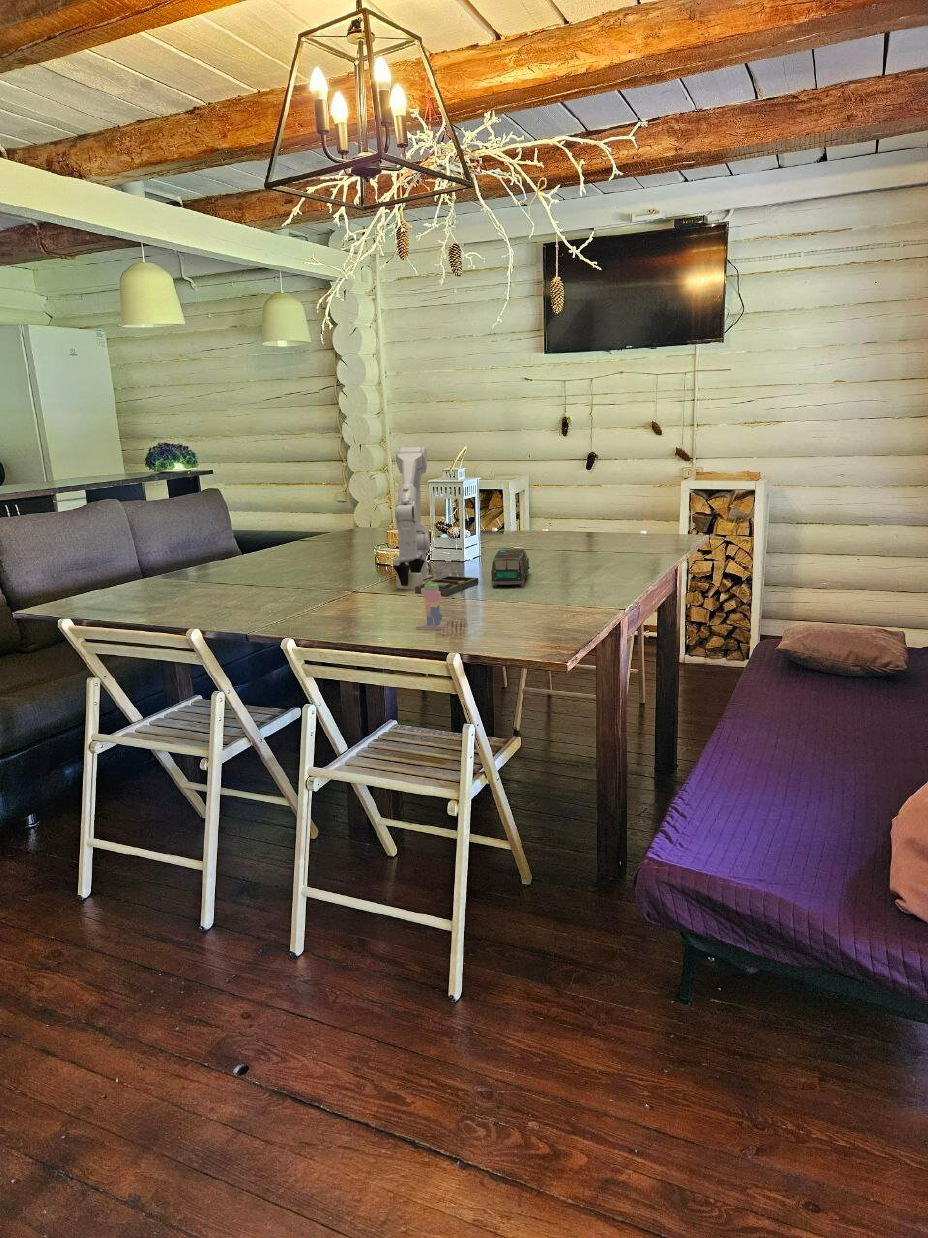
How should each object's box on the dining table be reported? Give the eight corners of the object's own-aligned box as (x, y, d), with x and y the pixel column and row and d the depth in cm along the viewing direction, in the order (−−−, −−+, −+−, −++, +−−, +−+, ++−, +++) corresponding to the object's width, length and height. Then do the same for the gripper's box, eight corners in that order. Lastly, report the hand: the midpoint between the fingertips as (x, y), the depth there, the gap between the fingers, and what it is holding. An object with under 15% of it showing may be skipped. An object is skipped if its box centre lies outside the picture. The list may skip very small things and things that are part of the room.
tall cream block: (397, 588, 274) (396, 573, 273) (402, 586, 276) (402, 571, 275) (417, 590, 270) (417, 574, 268) (423, 588, 272) (422, 573, 271)
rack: (415, 593, 265) (414, 584, 264) (447, 581, 281) (447, 573, 280) (447, 596, 259) (446, 587, 258) (478, 583, 274) (478, 575, 274)
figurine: (446, 624, 225) (444, 579, 222) (441, 629, 220) (439, 584, 217) (421, 623, 227) (419, 579, 224) (416, 629, 221) (413, 584, 219)
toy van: (530, 573, 289) (529, 544, 286) (524, 588, 265) (523, 557, 262) (499, 574, 290) (498, 545, 288) (490, 589, 267) (489, 558, 264)
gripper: (404, 546, 261) (407, 589, 265) (430, 539, 273) (432, 580, 277) (386, 545, 265) (389, 587, 268) (412, 538, 277) (415, 578, 280)
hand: (410, 583), depth 273 cm, fingers open, 6 cm apart
